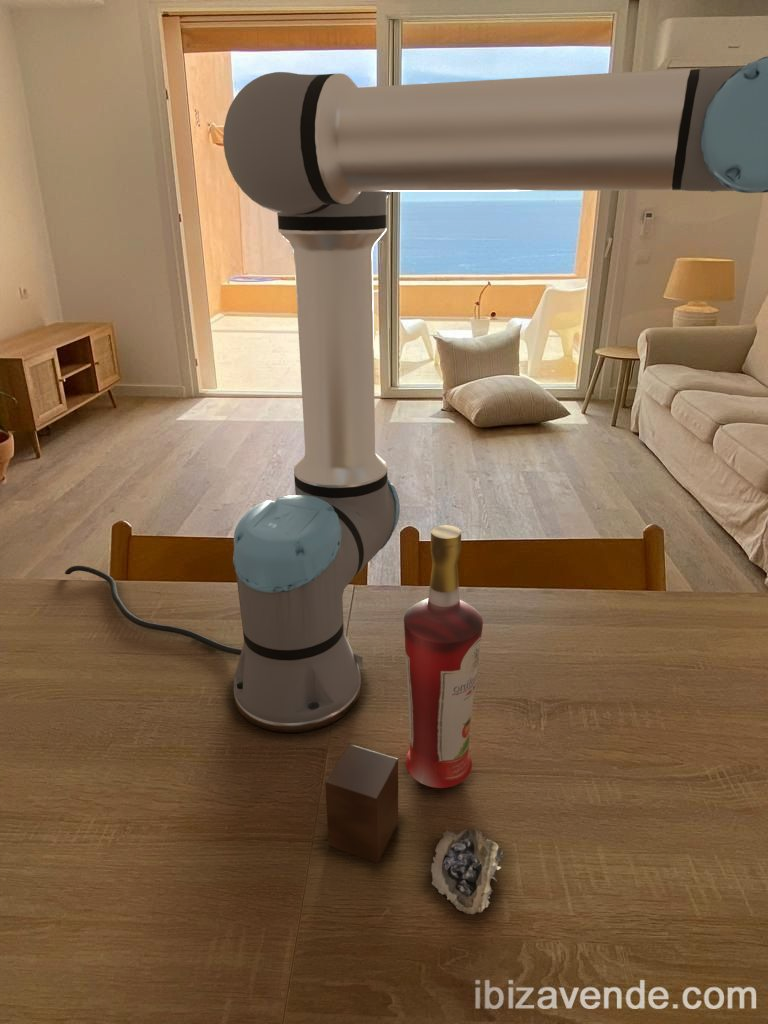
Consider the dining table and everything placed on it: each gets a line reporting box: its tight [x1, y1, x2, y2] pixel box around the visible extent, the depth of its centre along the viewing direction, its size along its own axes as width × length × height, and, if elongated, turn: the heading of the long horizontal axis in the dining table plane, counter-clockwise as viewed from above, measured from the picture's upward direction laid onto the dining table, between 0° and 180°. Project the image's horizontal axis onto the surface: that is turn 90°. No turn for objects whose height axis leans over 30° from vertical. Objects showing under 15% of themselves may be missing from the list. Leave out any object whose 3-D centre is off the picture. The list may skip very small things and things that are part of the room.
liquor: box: [403, 524, 484, 789], centre depth 67 cm, size 7×7×28 cm
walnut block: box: [324, 743, 399, 864], centre depth 64 cm, size 5×5×8 cm
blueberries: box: [430, 828, 504, 916], centre depth 61 cm, size 7×8×2 cm
